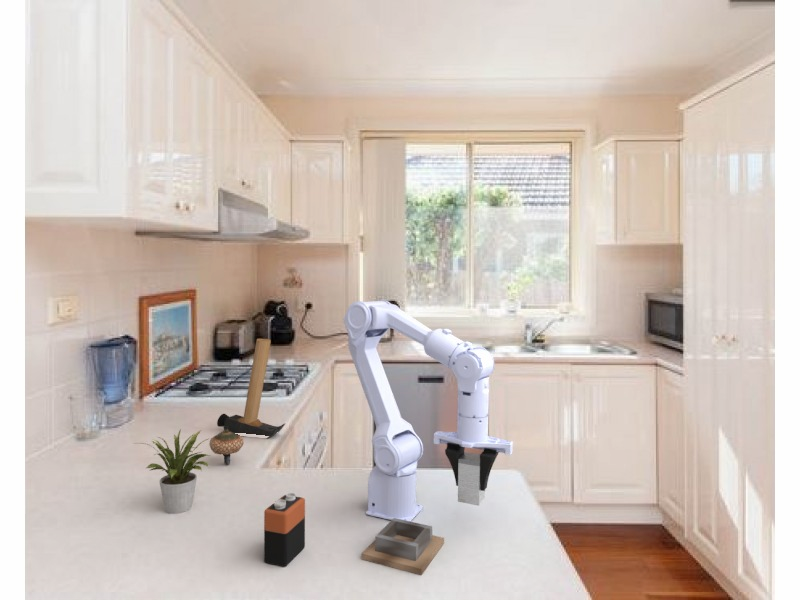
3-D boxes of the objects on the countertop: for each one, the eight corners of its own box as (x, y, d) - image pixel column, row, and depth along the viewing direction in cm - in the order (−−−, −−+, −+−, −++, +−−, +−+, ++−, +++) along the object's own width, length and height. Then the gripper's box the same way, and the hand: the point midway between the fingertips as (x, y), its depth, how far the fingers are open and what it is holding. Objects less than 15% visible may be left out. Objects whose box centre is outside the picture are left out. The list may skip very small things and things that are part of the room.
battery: (262, 563, 85) (262, 504, 84) (284, 543, 91) (284, 488, 91) (285, 568, 83) (286, 508, 83) (305, 547, 90) (306, 492, 89)
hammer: (282, 441, 155) (298, 346, 152) (273, 447, 150) (291, 348, 147) (225, 424, 160) (240, 331, 157) (215, 428, 155) (231, 333, 152)
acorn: (206, 463, 130) (205, 424, 130) (238, 457, 135) (238, 419, 134) (213, 473, 123) (213, 432, 123) (247, 466, 128) (247, 427, 128)
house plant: (137, 534, 94) (136, 447, 93) (129, 505, 105) (128, 428, 105) (217, 515, 102) (216, 434, 101) (201, 490, 113) (201, 418, 113)
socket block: (361, 559, 86) (361, 539, 86) (389, 530, 96) (389, 512, 96) (421, 575, 82) (421, 553, 82) (444, 543, 92) (444, 524, 92)
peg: (457, 501, 93) (458, 458, 93) (464, 493, 97) (464, 452, 97) (479, 505, 92) (479, 462, 91) (484, 497, 95) (485, 455, 95)
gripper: (428, 414, 93) (427, 487, 93) (507, 424, 87) (505, 502, 88) (441, 405, 99) (439, 474, 100) (515, 414, 94) (513, 487, 94)
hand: (471, 486), depth 94 cm, fingers closed on peg, 4 cm apart
